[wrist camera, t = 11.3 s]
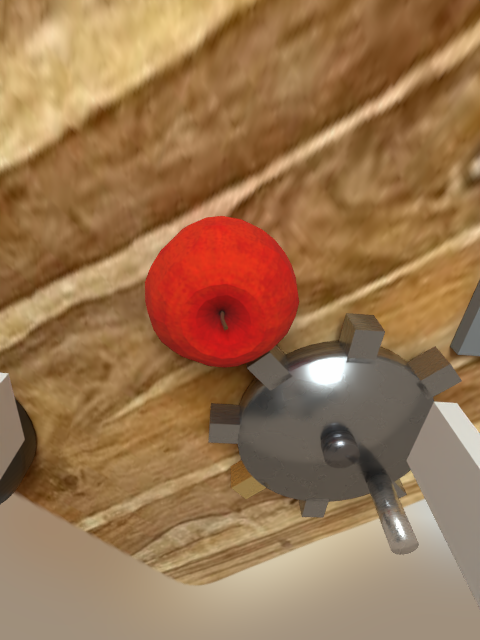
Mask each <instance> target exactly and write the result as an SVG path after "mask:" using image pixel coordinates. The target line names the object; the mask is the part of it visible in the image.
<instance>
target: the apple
mask: <svg viewBox="0 0 480 640" xmlns="http://www.w3.org/2000/svg"><path fill="white" fill-rule="evenodd" d="M145 302H146V306H147V310H148V314H149V317H150V320H151V323H152V326H153V329H154V331H155V332H156V334H157V336H158V337H159V339H160V340H161V342H163V343H164V344H165V345H166V346H168V347H169V348H170V349H171V350H173V351H174V352H176V353H177V354H179V355H180V356H182V357H185V358H188V359H191V360H194V361H196V362H199V363H202V364H205V365H208V366H215V367H233V366H239V365H241V364H244V363H247V362H250V361H253V360H255V359H257V358H258V357H260V356H262V355H263V354H265V353H267V352H268V351H270V350H272V349H273V348H274V347H275V346H276V345H277V344H278V343H279V342H280V340H281V339H282V338H283V337H284V336H285V335H286V334H287V333H288V331H289V329H290V327H291V325H292V323H293V320H294V318H295V316H296V312H297V308H298V304H299V298H298V291H297V284H296V277H295V274H294V271H293V268H292V265H291V263H290V261H289V259H288V257H287V255H286V254H285V252H284V251H283V250H282V248H281V247H280V246H279V245H278V243H277V242H276V241H275V240H274V239H273V238H272V237H271V236H269V235H268V234H267V233H266V232H265V231H263V230H262V229H260V228H258V227H256V226H254V225H252V224H250V223H248V222H246V221H244V220H241V219H235V218H230V217H225V216H217V217H208V218H204V219H202V220H200V221H197V222H195V223H193V224H191V225H189V226H187V227H185V228H183V229H182V230H181V231H180V232H179V233H178V234H177V235H176V236H175V237H174V238H173V239H172V240H171V241H170V242H169V243H168V244H167V245H166V246H165V247H164V248H163V249H162V250H161V251H160V253H159V254H158V256H157V257H156V259H155V261H154V262H153V264H152V266H151V268H150V270H149V272H148V275H147V278H146V281H145Z"/></svg>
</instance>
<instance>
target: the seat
mask: <svg viewBox="0 0 480 640" xmlns="http://www.w3.org/2000/svg"><path fill="white" fill-rule="evenodd" d="M450 347H451V348H452V349H453V350H454V351H455V352H456V353H457V354H458V355H472V356H480V281H479V283H478V285H477V288H476V290H475V292H474V294H473V297H472V299H471V301H470V303H469V306H468V308H467V310H466V312H465V314H464V317H463V319H462V321H461V323H460V326H459V328H458V330H457V332H456V335H455V337H454V339H453V341H452V344H451V346H450Z"/></svg>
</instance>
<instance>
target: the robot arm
mask: <svg viewBox="0 0 480 640" xmlns="http://www.w3.org/2000/svg"><path fill="white" fill-rule="evenodd" d="M35 451H36V438H35V433H34V429H33V426H32V424H31V422H30V420H29V418H28V416H27V414H26V413H25V411H24V410H23V408H22V407H21V406H20V404H19V403H18V402H17V401H16V400H15V398H14V394H13V390H12V386H11V381H10V377H9V373H0V504H1V503H3V502H4V501H5V500H7V499H8V498H9V497H10V496H11V495H12V494H13V493H14V491H15V490H16V489H17V487H18V486H19V485H20V483H21V481H22V479H23V477H24V476H25V474H26V472H27V470H28V468H29V467H30V465H31V463H32V461H33V458H34V455H35ZM407 463H408V465H409V467H410V469H411V471H412V473H413V475H414V477H415V479H416V481H417V483H418V485H419V487H420V489H421V491H422V493H423V495H424V497H425V499H426V501H427V503H428V505H429V507H430V509H431V511H432V514H433V516H434V518H435V520H436V522H437V523H438V526H439V528H440V530H441V532H442V534H443V536H444V538H445V540H446V542H447V544H448V546H449V548H450V550H451V552H452V554H453V556H454V558H455V560H456V562H457V564H458V566H459V568H460V570H461V572H462V574H463V577H464V578H465V580H466V583H467V585H468V587H469V589H470V591H471V593H472V595H473V597H474V599H475V601H476V603H477V605H478V607H479V609H480V433H479V432H478V431H477V430H476V428H475V427H474V426H473V424H472V423H471V422H470V420H469V419H468V418H467V416H466V415H465V414H464V412H463V411H462V410H461V408H460V407H459V406H458V404H457V403H445V402H433V405H432V407H431V409H430V411H429V413H428V415H427V418H426V420H425V422H424V424H423V426H422V428H421V430H420V433H419V435H418V437H417V439H416V441H415V443H414V446H413V448H412V450H411V452H410V454H409V456H408V458H407Z"/></svg>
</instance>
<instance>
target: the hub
mask: <svg viewBox="0 0 480 640" xmlns="http://www.w3.org/2000/svg"><path fill="white" fill-rule="evenodd" d="M321 448H322V452H323V456H324V459H325V462H326V463H327V464H328V465H329V466H331V467H333V468H346V467H349V466H351V465H353V464H354V463H356V462H357V461H358V459H359V457H360V451H359V448H358V445H357V443H356V440H355V438H354V436H353V434H352V433H350V432H348V431H345V430H336V431H332V432H330V433H328V434H326V435H325V436H324V437H323V438H322V440H321Z"/></svg>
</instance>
